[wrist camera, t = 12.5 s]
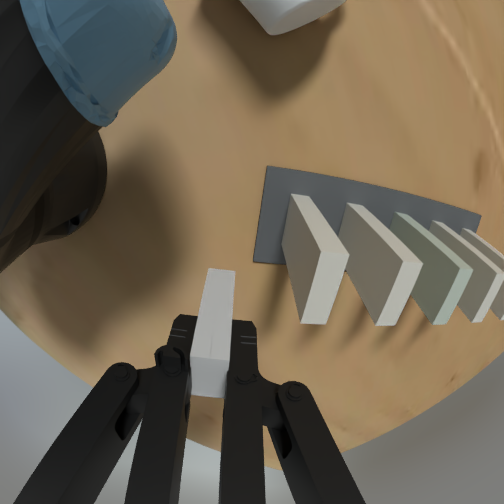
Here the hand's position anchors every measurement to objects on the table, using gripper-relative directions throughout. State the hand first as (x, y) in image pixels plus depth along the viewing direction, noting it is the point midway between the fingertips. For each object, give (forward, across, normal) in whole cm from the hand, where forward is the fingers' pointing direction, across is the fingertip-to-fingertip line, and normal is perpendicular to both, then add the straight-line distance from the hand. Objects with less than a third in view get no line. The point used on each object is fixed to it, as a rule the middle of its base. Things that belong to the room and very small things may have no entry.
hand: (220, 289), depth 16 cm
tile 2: (+13, +12, 0) cm, 17 cm away
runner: (+13, +17, 0) cm, 22 cm away
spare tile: (+13, +18, 0) cm, 22 cm away
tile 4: (+13, +24, 0) cm, 27 cm away
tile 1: (+13, +6, 0) cm, 14 cm away
